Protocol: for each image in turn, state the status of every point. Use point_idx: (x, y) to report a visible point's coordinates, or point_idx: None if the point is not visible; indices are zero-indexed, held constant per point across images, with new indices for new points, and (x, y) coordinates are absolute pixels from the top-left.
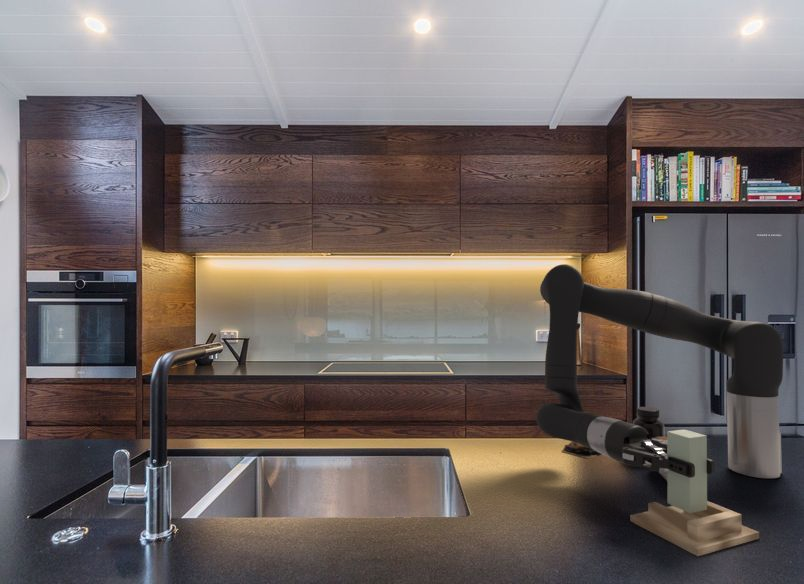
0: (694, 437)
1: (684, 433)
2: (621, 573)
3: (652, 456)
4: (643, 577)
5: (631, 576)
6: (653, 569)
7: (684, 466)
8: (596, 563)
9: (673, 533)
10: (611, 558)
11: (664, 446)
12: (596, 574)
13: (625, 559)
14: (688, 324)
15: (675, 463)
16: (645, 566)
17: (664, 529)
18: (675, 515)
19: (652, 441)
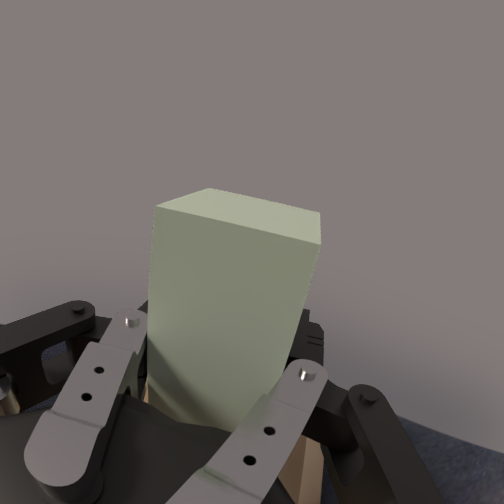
0: (288, 205)
1: (259, 212)
2: (469, 449)
3: (386, 403)
4: (448, 435)
5: (461, 441)
6: (423, 441)
7: (319, 329)
8: (488, 476)
9: (306, 471)
10: (463, 481)
11: (117, 414)
12: (497, 456)
13: (445, 473)
14: None
15: (323, 351)
16: (429, 450)
17: (306, 491)
18: (304, 452)
19: (87, 484)
